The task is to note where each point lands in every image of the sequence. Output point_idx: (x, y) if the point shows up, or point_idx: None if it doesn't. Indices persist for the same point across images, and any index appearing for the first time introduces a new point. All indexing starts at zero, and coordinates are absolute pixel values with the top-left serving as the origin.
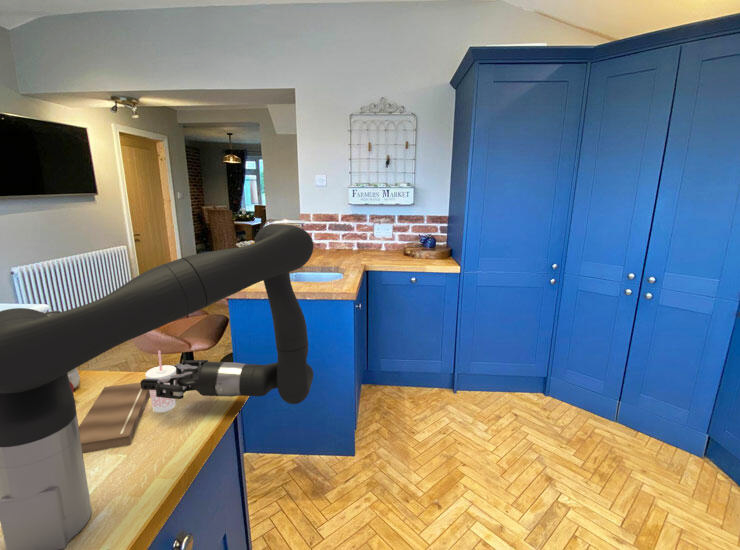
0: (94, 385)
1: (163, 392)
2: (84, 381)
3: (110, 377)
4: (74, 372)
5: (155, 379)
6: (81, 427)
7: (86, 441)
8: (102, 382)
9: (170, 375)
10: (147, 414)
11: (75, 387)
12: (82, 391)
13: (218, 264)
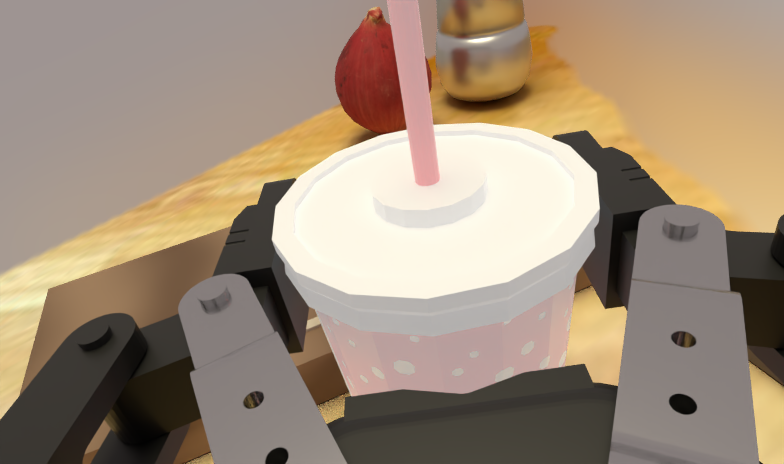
0: (543, 118)
1: (162, 442)
2: (554, 92)
3: (618, 113)
4: (496, 37)
5: (269, 243)
6: (180, 250)
7: (51, 328)
8: (573, 119)
9: (368, 309)
10: None
11: (495, 98)
12: (494, 121)
13: None
